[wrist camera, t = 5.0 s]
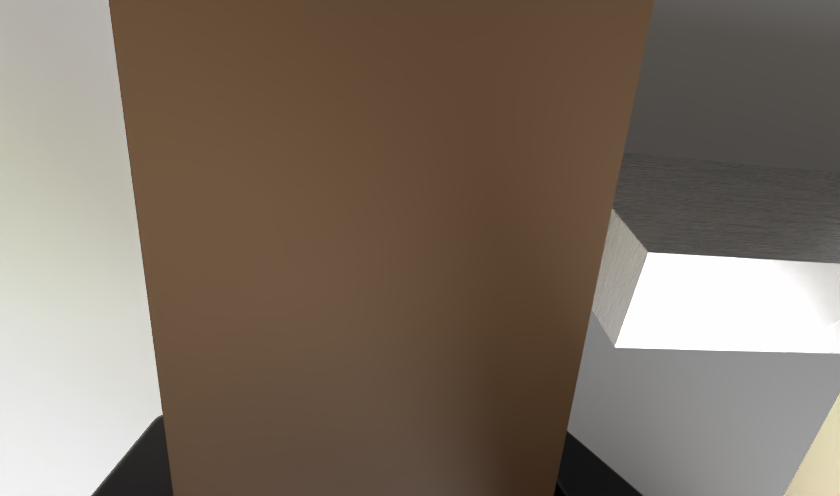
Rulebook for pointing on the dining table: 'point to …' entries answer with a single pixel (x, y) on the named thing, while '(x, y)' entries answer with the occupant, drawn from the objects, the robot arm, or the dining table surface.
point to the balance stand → (721, 254)
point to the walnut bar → (373, 233)
